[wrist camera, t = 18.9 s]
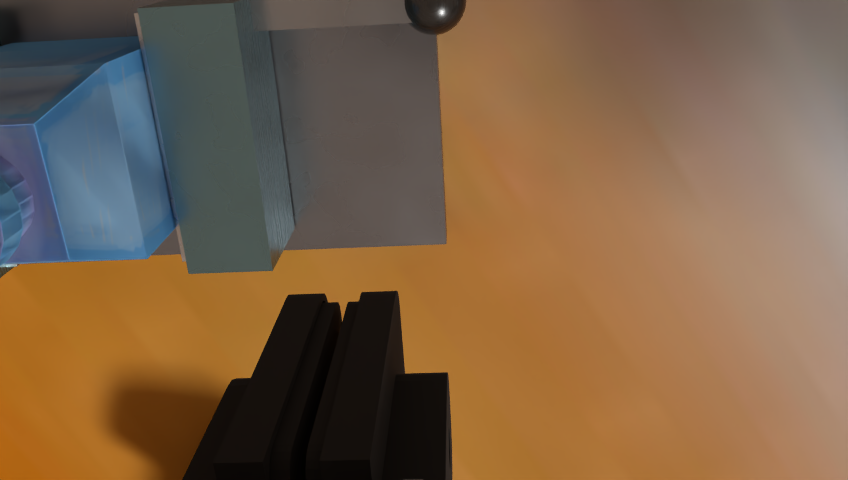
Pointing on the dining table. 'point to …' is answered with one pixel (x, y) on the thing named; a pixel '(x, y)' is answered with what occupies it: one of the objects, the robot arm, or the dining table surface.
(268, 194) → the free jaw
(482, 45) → the dining table surface
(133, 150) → the perfume bottle
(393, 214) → the vise bed
